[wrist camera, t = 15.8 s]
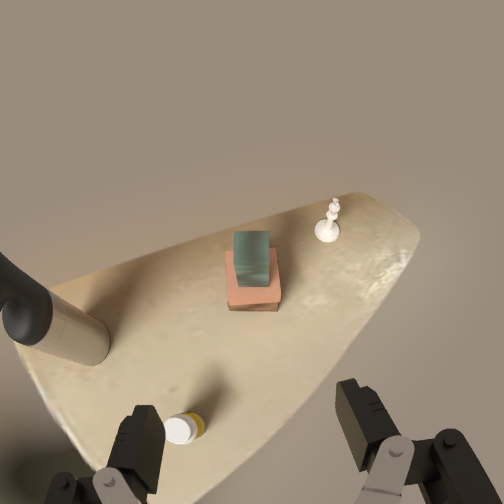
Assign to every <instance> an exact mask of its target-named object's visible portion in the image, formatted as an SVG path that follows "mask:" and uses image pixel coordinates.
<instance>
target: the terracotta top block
mask: <svg viewBox="0 0 504 504" xmlns="http://www.w3.org/2000/svg"><path fill="white" fill-rule="evenodd" d="M233 255H234V251H226V280H227V300H228V302H229V305H230V306H234V305H248V304H261V303H274V302H280V299H281V289H280V280H279V271H278V262H277V253H276V247H273V248H269V287H238V283H237V278H236V273H235V268H234V263H233Z"/></svg>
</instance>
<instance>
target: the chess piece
mask: <svg viewBox="0 0 504 504" xmlns="http://www.w3.org/2000/svg"><path fill="white" fill-rule="evenodd" d="M339 210H340V205H339V204H338V199H335V198H333V202H332V203H330V204H329V211H328V212H327V213H326V216H327V217H328V219H324V220H321V221H319V222H318V223H317V224H316V226H315V235H316V236H317V238H318V239H320V240H321V241H323V242H333V241H335V240H336V239H337V238H338V236H339V227H338V225H337V224H336V223H335V222H334V220H335V219H337V218H338V213H337V212H338V211H339Z"/></svg>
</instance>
